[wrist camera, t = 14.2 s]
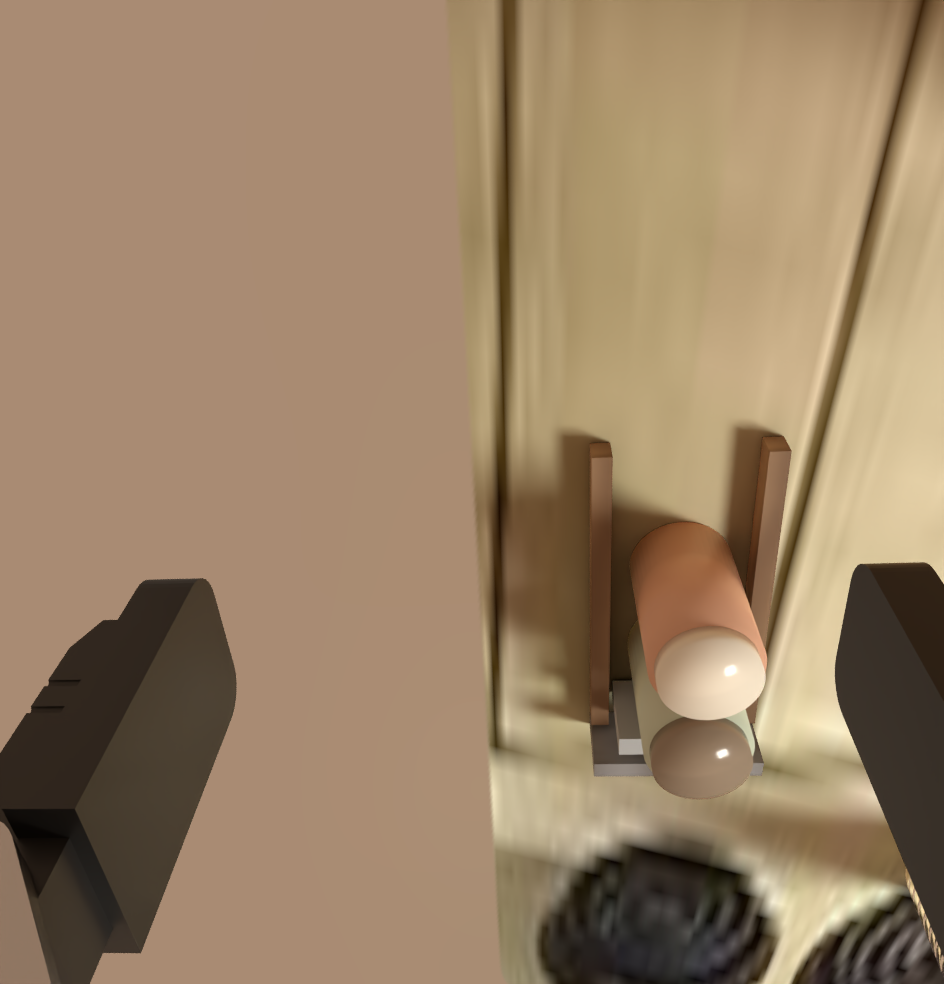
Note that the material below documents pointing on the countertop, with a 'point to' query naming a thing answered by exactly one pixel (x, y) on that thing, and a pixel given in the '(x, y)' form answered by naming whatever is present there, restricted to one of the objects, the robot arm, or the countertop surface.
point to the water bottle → (925, 922)
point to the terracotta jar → (696, 622)
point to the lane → (602, 720)
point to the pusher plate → (626, 718)
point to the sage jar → (688, 740)
